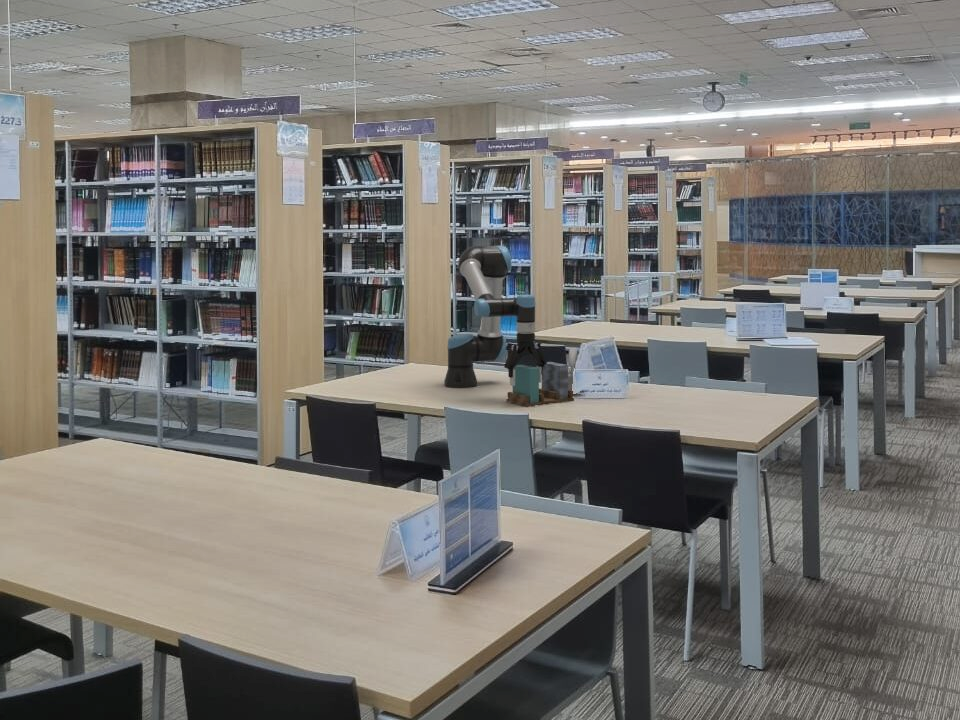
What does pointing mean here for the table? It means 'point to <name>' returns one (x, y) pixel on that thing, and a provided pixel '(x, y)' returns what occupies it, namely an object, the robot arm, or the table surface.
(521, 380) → the book block
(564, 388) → the rack
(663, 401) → the table surface
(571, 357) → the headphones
